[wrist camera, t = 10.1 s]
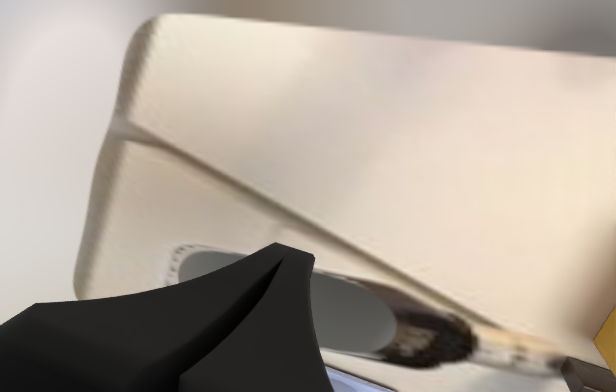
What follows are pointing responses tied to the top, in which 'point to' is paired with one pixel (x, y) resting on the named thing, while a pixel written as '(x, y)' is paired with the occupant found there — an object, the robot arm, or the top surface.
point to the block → (608, 341)
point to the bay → (587, 377)
